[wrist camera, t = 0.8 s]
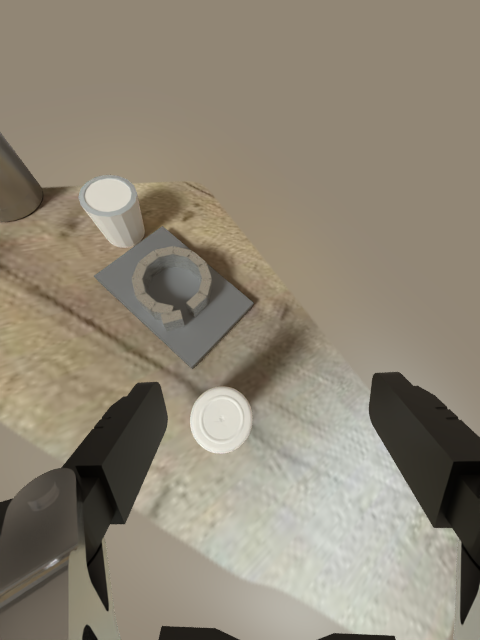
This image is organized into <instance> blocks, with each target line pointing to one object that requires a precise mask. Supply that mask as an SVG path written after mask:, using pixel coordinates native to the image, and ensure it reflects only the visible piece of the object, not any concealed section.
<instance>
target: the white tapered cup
mask: <svg viewBox="0 0 480 640" xmlns="http://www.w3.org/2000/svg"><path fill="white" fill-rule="evenodd" d="M79 200H80V204H81V206H82V207H83V208H84V210H85V211H86V212H87V214H88V215H89V216H90V218H91V219H92V220H93V221H94V223H95V224H96V225H97V227H98V228H99V229H100V231H101V232H102V233H103V234H104V236H105V237H106V238H107V240H108V241H109V242H110V243H111V244H113V245H115V246H117V247H125V248H127V247H131V246H135V245H136V244H138V243H139V242H140V241H141V240H142V239H143V237H144V233H145V229H144V224H143V219H142V215H141V210H140V205H139V200H138V196H137V192H136V190H135V187H134V185H133V184H132V183H130V182H129V181H128V180H127V179H124V178H122V177H119V176H114V175H104V176H99V177H95V178H93V179H92V180H90V181H88V182H86V183H85V185H84V186H83V187H82V188H81V190H80V193H79Z"/></svg>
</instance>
